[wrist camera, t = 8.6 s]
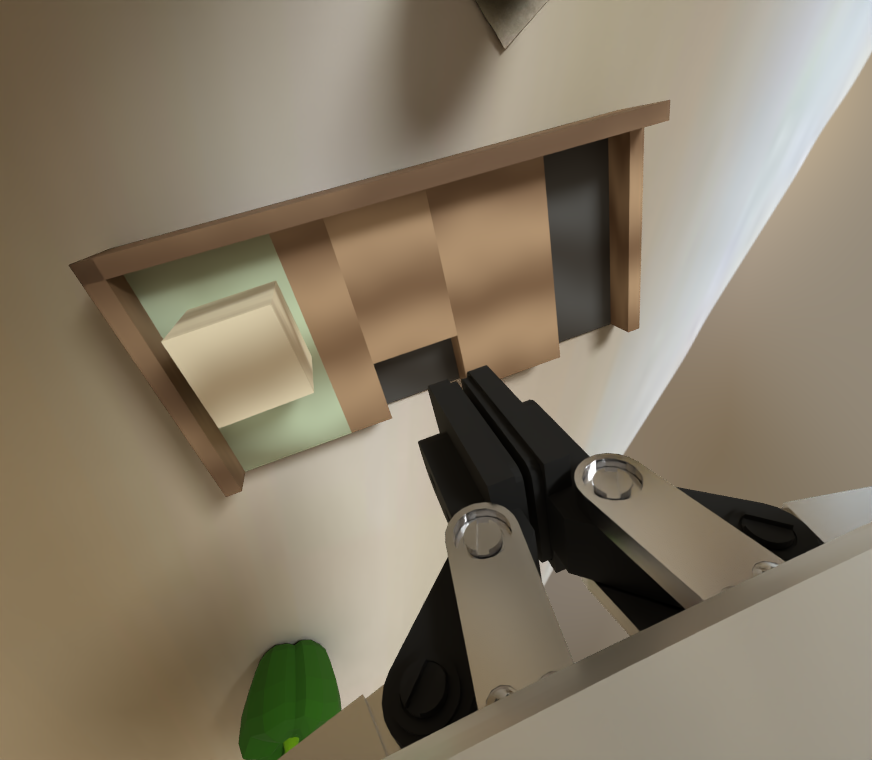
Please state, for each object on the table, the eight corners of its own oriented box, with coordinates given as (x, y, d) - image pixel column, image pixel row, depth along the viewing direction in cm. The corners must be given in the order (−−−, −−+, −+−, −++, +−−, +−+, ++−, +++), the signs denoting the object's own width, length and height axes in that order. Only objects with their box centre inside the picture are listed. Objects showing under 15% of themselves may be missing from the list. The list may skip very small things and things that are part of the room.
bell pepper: (278, 618, 38) (272, 746, 30) (350, 635, 42) (364, 753, 34) (228, 675, 40) (209, 814, 31) (303, 687, 44) (304, 812, 35)
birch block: (187, 309, 23) (161, 342, 18) (276, 280, 23) (270, 304, 19) (232, 384, 25) (218, 428, 21) (311, 356, 26) (314, 392, 21)
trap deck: (108, 249, 22) (68, 265, 19) (617, 110, 27) (670, 99, 23) (235, 455, 30) (226, 496, 26) (618, 318, 35) (658, 336, 31)
